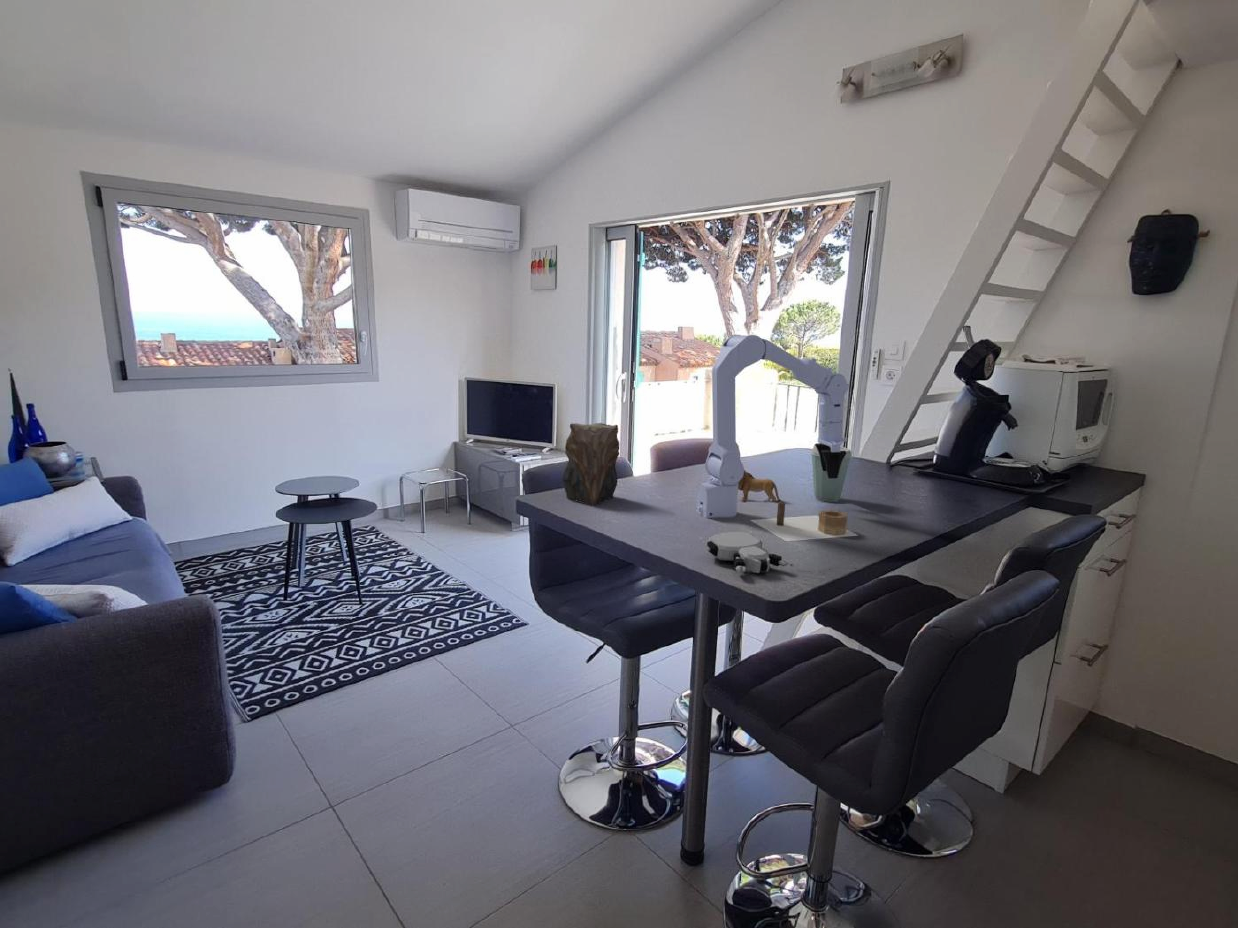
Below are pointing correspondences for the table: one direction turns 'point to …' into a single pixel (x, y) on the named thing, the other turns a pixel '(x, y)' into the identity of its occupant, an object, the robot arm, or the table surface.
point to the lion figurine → (757, 486)
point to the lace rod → (780, 513)
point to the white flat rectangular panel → (797, 528)
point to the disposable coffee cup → (822, 484)
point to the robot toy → (742, 551)
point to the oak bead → (832, 522)
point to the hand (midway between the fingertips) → (829, 474)
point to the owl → (591, 462)
